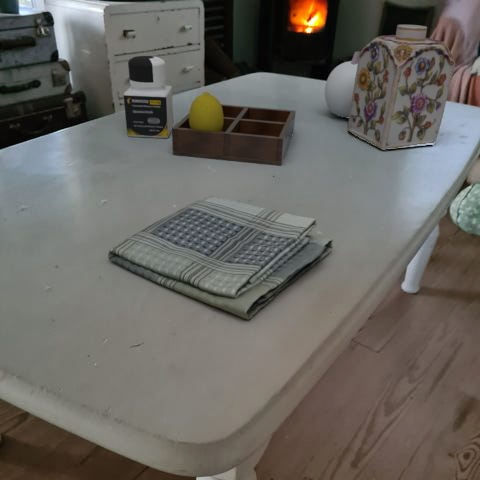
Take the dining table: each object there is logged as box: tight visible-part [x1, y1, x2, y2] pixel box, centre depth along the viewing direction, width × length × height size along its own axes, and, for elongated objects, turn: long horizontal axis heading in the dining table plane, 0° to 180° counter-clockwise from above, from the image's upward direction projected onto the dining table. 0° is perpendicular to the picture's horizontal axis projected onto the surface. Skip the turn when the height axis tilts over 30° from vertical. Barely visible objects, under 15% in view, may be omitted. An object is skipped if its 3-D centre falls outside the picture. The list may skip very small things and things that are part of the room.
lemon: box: [188, 91, 224, 132], centre depth 82 cm, size 6×6×8 cm
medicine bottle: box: [123, 55, 175, 139], centre depth 88 cm, size 7×7×12 cm
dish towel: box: [107, 195, 334, 320], centre depth 55 cm, size 19×18×3 cm
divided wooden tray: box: [171, 103, 296, 166], centre depth 87 cm, size 17×17×4 cm
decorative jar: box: [347, 24, 456, 149], centre depth 88 cm, size 12×12×18 cm
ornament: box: [324, 51, 361, 118], centre depth 101 cm, size 10×10×12 cm
